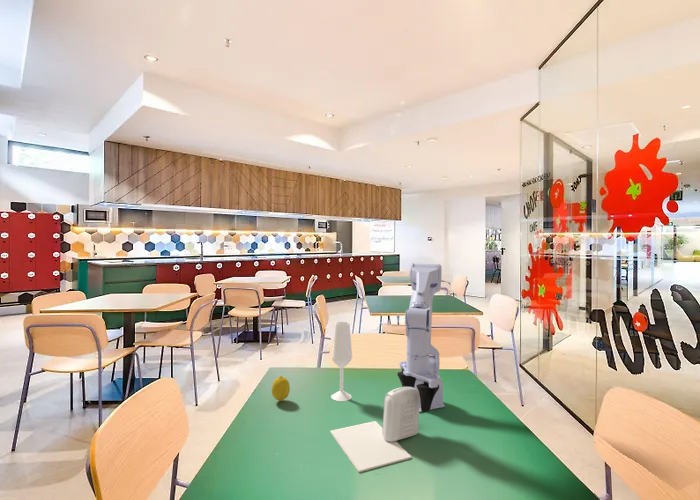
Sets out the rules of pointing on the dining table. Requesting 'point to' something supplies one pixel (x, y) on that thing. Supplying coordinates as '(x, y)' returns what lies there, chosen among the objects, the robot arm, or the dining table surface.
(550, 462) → the dining table surface
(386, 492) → the dining table surface
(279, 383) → the lemon
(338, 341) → the champagne flute
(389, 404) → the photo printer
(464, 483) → the dining table surface
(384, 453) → the mat
